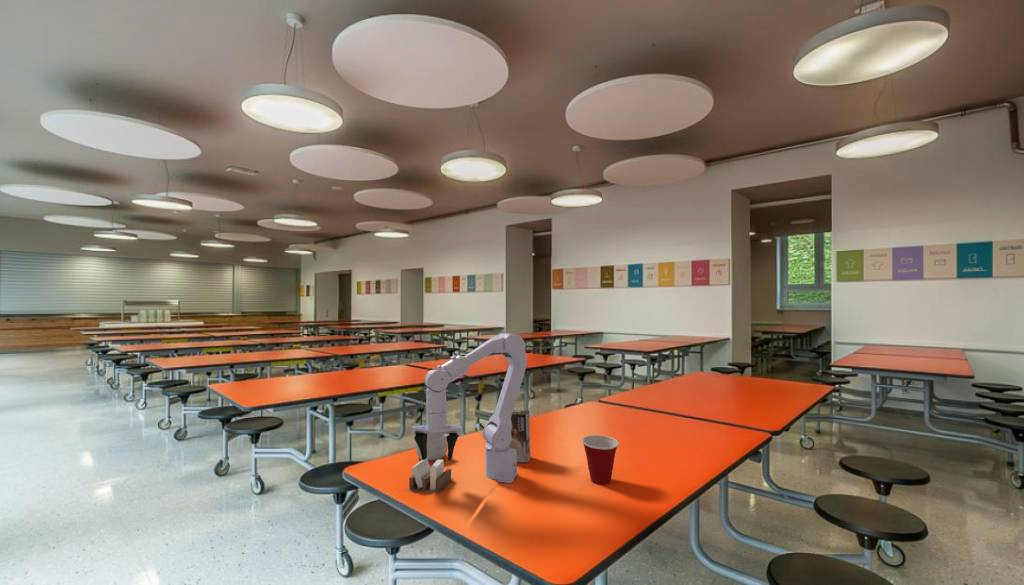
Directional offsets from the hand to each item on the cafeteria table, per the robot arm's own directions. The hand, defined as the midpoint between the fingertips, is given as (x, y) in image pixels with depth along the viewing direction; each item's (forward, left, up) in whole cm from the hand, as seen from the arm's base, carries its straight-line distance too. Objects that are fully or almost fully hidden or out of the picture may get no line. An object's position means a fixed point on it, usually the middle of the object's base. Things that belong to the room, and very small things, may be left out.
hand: (437, 459), depth 124 cm
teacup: (+12, -24, -8) cm, 28 cm away
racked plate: (+3, 0, -7) cm, 8 cm away
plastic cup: (-46, -14, -8) cm, 49 cm away
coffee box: (-17, -28, -8) cm, 34 cm away
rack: (+2, 0, -8) cm, 8 cm away
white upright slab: (0, 0, -7) cm, 7 cm away
